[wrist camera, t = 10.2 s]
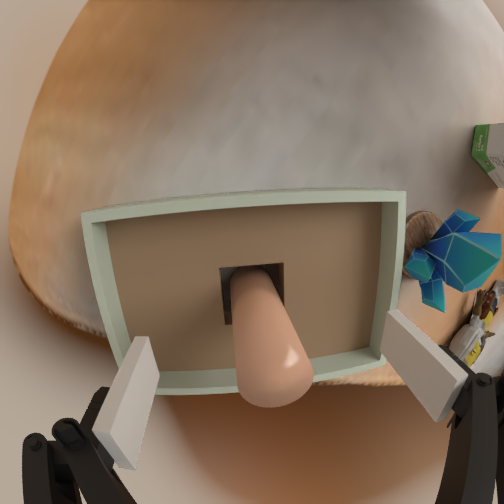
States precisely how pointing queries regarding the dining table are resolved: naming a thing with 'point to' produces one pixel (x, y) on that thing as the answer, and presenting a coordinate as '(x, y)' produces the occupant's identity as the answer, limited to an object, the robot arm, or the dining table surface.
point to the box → (243, 254)
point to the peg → (265, 342)
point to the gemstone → (448, 254)
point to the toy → (477, 325)
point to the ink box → (490, 150)
